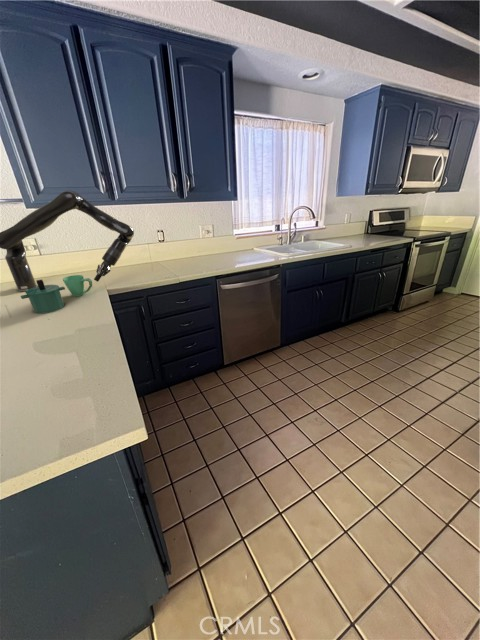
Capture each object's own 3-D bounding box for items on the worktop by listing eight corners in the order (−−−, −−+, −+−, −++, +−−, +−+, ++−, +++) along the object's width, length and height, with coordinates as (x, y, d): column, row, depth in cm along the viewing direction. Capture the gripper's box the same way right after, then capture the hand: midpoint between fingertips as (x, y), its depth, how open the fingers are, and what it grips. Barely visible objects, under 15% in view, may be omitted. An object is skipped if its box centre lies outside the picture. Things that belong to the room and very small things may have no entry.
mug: (64, 297, 145) (58, 280, 141) (74, 291, 154) (69, 275, 149) (90, 297, 144) (85, 280, 140) (99, 291, 153) (95, 275, 149)
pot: (24, 310, 131) (17, 291, 126) (65, 299, 142) (60, 283, 138) (30, 317, 123) (23, 298, 119) (73, 306, 134) (67, 288, 130)
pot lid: (23, 291, 128) (19, 280, 126) (55, 284, 137) (51, 274, 135) (29, 298, 120) (25, 286, 118) (63, 290, 129) (59, 279, 126)
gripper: (102, 250, 156) (85, 275, 153) (111, 253, 148) (94, 279, 145) (113, 257, 162) (97, 281, 159) (122, 261, 153) (106, 286, 151)
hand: (95, 280), depth 152 cm, fingers closed
